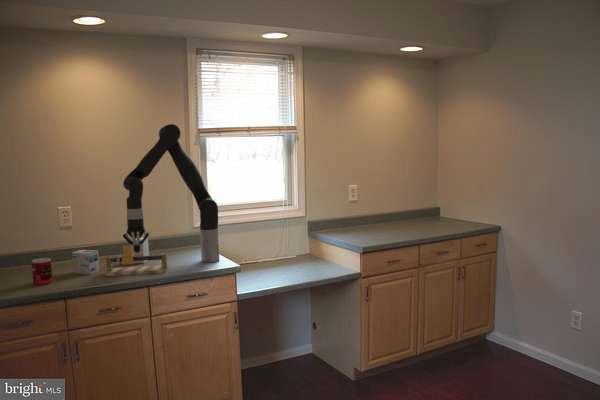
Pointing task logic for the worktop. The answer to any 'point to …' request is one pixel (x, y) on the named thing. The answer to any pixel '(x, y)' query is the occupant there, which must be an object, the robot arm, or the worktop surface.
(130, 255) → the sleeve
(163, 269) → the beige long open box
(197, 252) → the worktop surface
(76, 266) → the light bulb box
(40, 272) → the canned food
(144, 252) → the supplement box
